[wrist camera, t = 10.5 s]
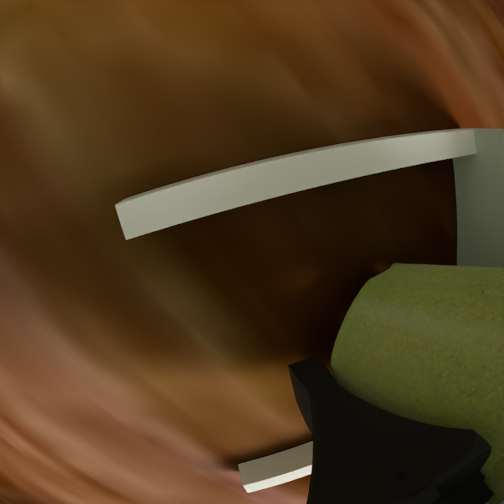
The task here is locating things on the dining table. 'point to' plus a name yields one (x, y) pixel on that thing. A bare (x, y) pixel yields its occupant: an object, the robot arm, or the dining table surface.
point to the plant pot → (431, 351)
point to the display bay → (330, 171)
